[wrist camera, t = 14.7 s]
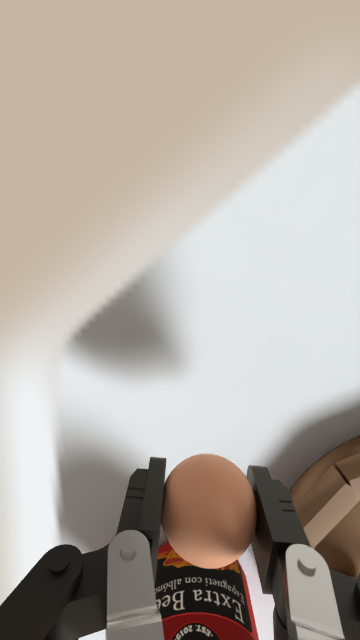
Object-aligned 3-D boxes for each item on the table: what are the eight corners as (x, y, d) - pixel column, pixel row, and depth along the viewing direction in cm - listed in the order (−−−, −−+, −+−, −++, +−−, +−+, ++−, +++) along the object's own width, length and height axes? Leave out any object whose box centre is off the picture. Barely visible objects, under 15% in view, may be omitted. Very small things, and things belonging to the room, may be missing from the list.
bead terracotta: (166, 431, 13) (159, 502, 10) (251, 438, 13) (277, 512, 10) (160, 502, 14) (151, 592, 10) (240, 508, 14) (260, 600, 10)
